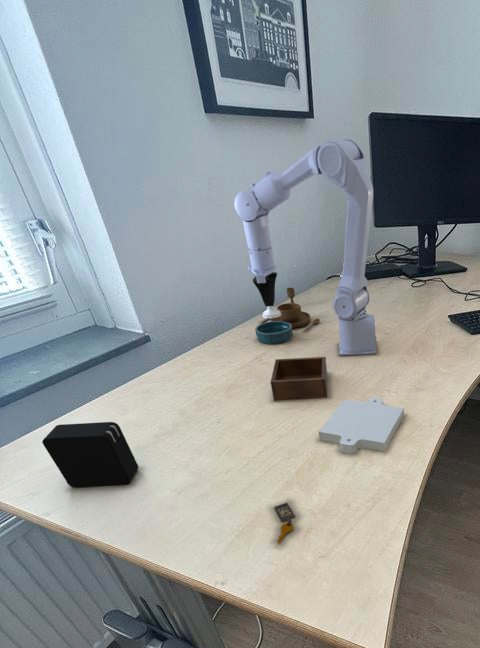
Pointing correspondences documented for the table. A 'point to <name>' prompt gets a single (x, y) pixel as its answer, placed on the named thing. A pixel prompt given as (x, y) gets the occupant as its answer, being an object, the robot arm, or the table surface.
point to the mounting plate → (362, 425)
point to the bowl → (274, 332)
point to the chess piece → (271, 312)
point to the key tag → (284, 514)
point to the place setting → (293, 313)
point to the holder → (299, 378)
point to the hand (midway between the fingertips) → (270, 304)
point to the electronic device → (91, 454)
